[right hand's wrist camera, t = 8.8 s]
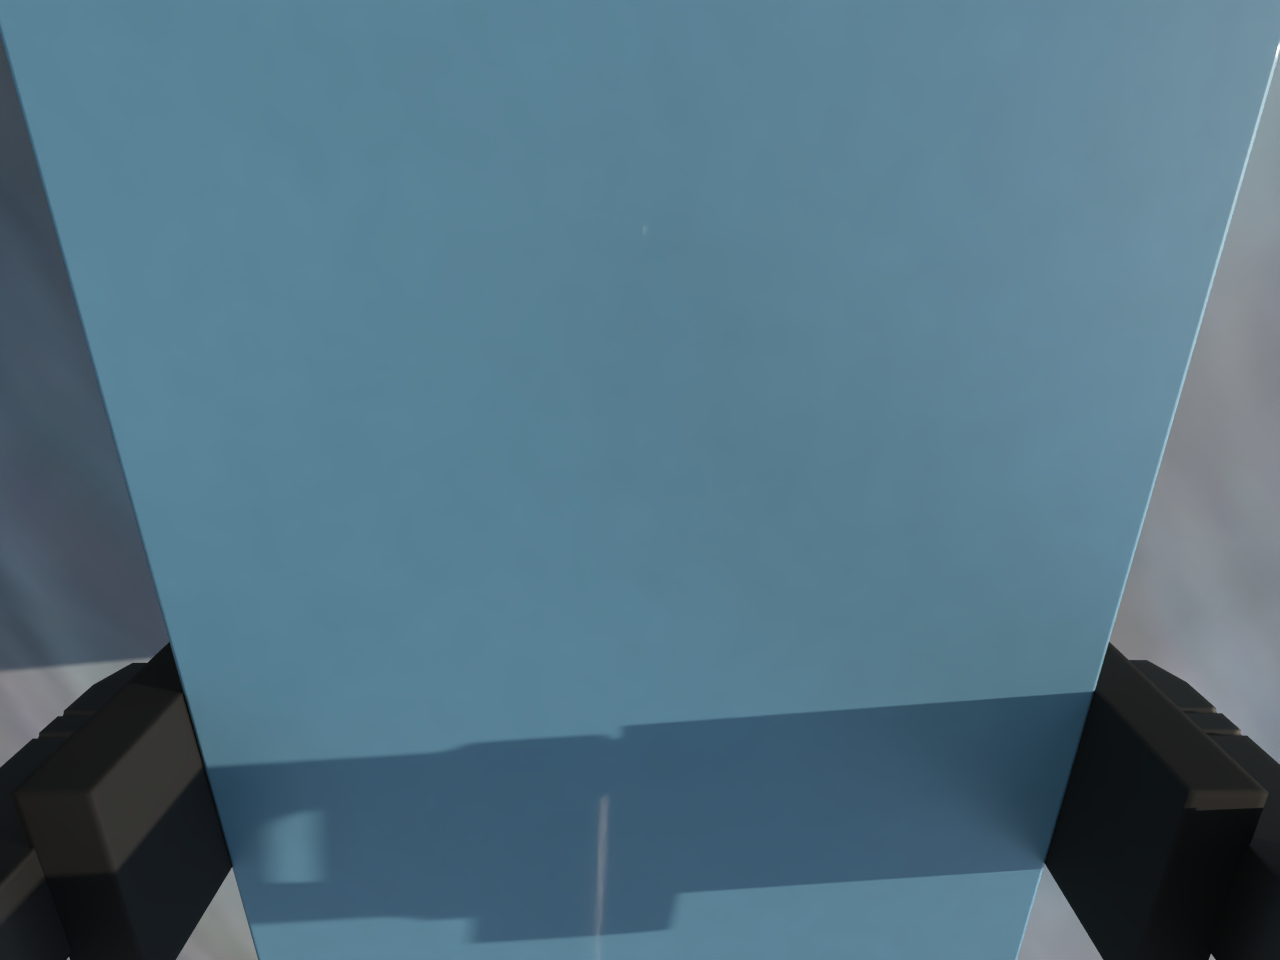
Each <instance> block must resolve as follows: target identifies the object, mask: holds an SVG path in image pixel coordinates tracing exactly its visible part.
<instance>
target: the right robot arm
mask: <svg viewBox="0 0 1280 960" xmlns="http://www.w3.org/2000/svg"><path fill="white" fill-rule="evenodd" d="M1240 731H1241V730H1240V729H1239V728H1238V727H1237V726H1235V725H1234V724H1233V723H1232V722H1231V721H1230V720H1229V719H1228V718H1226V717H1225V716H1224V715H1223V714H1222V713H1216V708H1215V707H1214V706H1213V705H1212V704H1211V703H1209V702H1208V701H1207V700H1206V699H1205V698H1204V697H1203V696H1202V695H1200V694H1199V693H1198V692H1197V691H1196V690H1195V689H1194V688H1192V687H1191V686H1190V685H1189V684H1188V683H1187V682H1185V681H1183V680H1182V679H1180V678H1178V677H1176V676H1174V675H1173V674H1171V673H1169V672H1167V671H1165V670H1164V669H1162V668H1160V667H1158V666H1156V665H1155V664H1153V663H1151V662H1149V661H1147V660H1128V659H1127V658H1126V657H1125V656H1124V655H1123V654H1122V653H1120V652H1119V651H1118V650H1117V649H1116V648H1115V647H1114V646H1113V645H1112V644H1111V643H1110V642H1109V643H1108V647H1107V650H1106V653H1105V657H1104V660H1103V664H1102V667H1101V671H1100V674H1099V678H1098V681H1097V685H1096V688H1095V690H1094V694H1093V697H1092V701H1091V704H1090V708H1089V711H1088V715H1087V718H1086V722H1085V725H1084V729H1083V732H1082V736H1081V739H1080V743H1079V746H1078V750H1077V753H1076V757H1075V760H1074V764H1073V767H1072V771H1071V774H1070V778H1069V781H1068V785H1067V788H1066V792H1065V795H1064V799H1063V802H1062V805H1061V809H1060V812H1059V816H1058V819H1057V823H1056V826H1055V830H1054V833H1053V837H1052V840H1051V843H1050V847H1049V850H1048V854H1047V857H1046V861H1045V864H1046V866H1047V868H1048V869H1049V871H1050V873H1051V874H1052V876H1053V878H1054V879H1055V881H1056V883H1057V884H1058V886H1059V887H1060V889H1061V891H1062V892H1063V894H1064V896H1065V897H1066V899H1067V901H1068V902H1069V904H1070V906H1071V907H1072V909H1073V910H1074V912H1075V914H1076V915H1077V917H1078V919H1079V920H1080V922H1081V924H1082V925H1083V927H1084V929H1085V930H1086V932H1087V933H1088V935H1089V937H1090V938H1091V940H1092V942H1093V943H1094V945H1095V947H1096V948H1097V950H1098V952H1099V953H1100V955H1101V956H1102V958H1103V960H1209V957H1210V954H1212V955H1213V957H1214V958H1215V959H1216V960H1280V765H1279V764H1278V763H1277V762H1276V761H1275V760H1274V759H1273V758H1272V757H1270V756H1269V755H1268V754H1267V753H1266V752H1265V751H1264V750H1263V749H1261V748H1260V747H1259V746H1258V745H1257V744H1256V743H1255V742H1253V741H1252V740H1251V739H1250V738H1249V737H1248V736H1242V735H1241V733H1240ZM231 868H232V864H231V860H230V856H229V853H228V849H227V846H226V842H225V838H224V835H223V831H222V828H221V824H220V821H219V817H218V813H217V810H216V806H215V803H214V799H213V795H212V792H211V788H210V785H209V781H208V777H207V774H206V770H205V767H204V763H203V760H202V756H201V752H200V749H199V745H198V742H197V738H196V734H195V731H194V727H193V724H192V720H191V717H190V713H189V709H188V706H187V702H186V699H185V695H184V691H183V688H182V684H181V681H180V677H179V673H178V670H177V666H176V663H175V659H174V656H173V652H172V648H171V645H170V642H169V643H168V644H167V645H166V646H165V647H164V648H163V649H162V650H161V651H160V652H158V653H157V654H156V655H155V656H154V657H153V658H152V659H151V660H150V661H149V662H148V663H132V664H130V665H128V666H126V667H124V668H123V669H121V670H119V671H117V672H115V673H114V674H112V675H110V676H108V677H107V678H105V679H103V680H101V681H99V682H98V683H96V684H94V685H93V686H91V687H90V688H89V689H88V690H87V691H86V692H85V693H84V694H82V695H81V696H80V697H79V698H78V699H77V700H76V701H75V702H73V703H72V704H71V705H70V706H69V707H68V708H67V709H66V710H64V714H63V716H58V717H57V718H55V719H54V720H53V721H52V722H51V723H50V724H49V725H48V726H46V727H45V728H44V729H43V730H42V731H41V732H40V733H39V738H38V739H32V740H31V741H30V742H29V743H27V744H26V745H25V746H24V747H23V748H22V749H21V750H20V751H18V752H17V753H16V754H15V755H14V756H13V757H12V758H11V759H9V760H8V761H7V762H6V763H5V764H4V765H3V766H2V767H0V960H67V958H68V957H70V960H176V958H177V957H178V955H179V953H180V952H181V950H182V948H183V947H184V945H185V943H186V942H187V940H188V939H189V937H190V935H191V934H192V932H193V930H194V929H195V927H196V925H197V924H198V922H199V920H200V919H201V917H202V916H203V914H204V912H205V911H206V909H207V907H208V906H209V904H210V902H211V901H212V899H213V897H214V896H215V894H216V893H217V891H218V889H219V888H220V886H221V884H222V883H223V881H224V879H225V878H226V876H227V874H228V873H229V871H230V870H231Z"/></svg>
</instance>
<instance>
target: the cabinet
mask: <svg viewBox="0 0 1280 960" xmlns="http://www.w3.org/2000/svg"><path fill="white" fill-rule="evenodd" d="M0 35H1V39H2V42H3V46H4V49H5V53H6V57H7V60H8V64H9V67H10V71H11V75H12V78H13V82H14V85H15V89H16V93H17V96H18V100H19V103H20V107H21V110H22V114H23V118H24V121H25V125H26V128H27V132H28V136H29V139H30V143H31V146H32V150H33V153H34V157H35V161H36V164H37V168H38V171H39V175H40V179H41V182H42V186H43V189H44V193H45V197H46V200H47V204H48V207H49V211H50V214H51V218H52V222H53V225H54V229H55V232H56V236H57V240H58V243H59V247H60V250H61V254H62V257H63V261H64V265H65V268H66V272H67V275H68V279H69V283H70V286H71V290H72V293H73V297H74V301H75V304H76V308H77V311H78V315H79V318H80V322H81V326H82V329H83V333H84V336H85V340H86V344H87V347H88V351H89V354H90V358H91V361H92V365H93V369H94V372H95V376H96V379H97V383H98V387H99V390H100V394H101V397H102V401H103V405H104V408H105V412H106V415H107V419H108V422H109V426H110V430H111V433H112V437H113V440H114V444H115V448H116V451H117V455H118V458H119V462H120V465H121V469H122V473H123V476H124V480H125V483H126V487H127V491H128V494H129V498H130V501H131V505H132V509H133V512H134V516H135V519H136V523H137V526H138V530H139V534H140V537H141V541H142V544H143V548H144V552H145V555H146V559H147V562H148V566H149V569H150V573H151V577H152V580H153V584H154V587H155V591H156V595H157V598H158V602H159V605H160V609H161V613H162V616H163V620H164V623H165V627H166V630H167V634H168V638H169V641H170V645H171V648H172V652H173V656H174V659H175V663H176V666H177V670H178V673H179V677H180V681H181V684H182V688H183V691H184V695H185V699H186V702H187V706H188V709H189V713H190V717H191V720H192V724H193V727H194V731H195V734H196V738H197V742H198V745H199V749H200V752H201V756H202V760H203V763H204V767H205V770H206V774H207V777H208V781H209V785H210V788H211V792H212V795H213V799H214V803H215V806H216V810H217V813H218V817H219V821H220V824H221V828H222V831H223V835H224V838H225V842H226V846H227V849H228V853H229V856H230V860H231V864H232V867H233V871H234V874H235V878H236V881H237V885H238V889H239V892H240V896H241V899H242V903H243V907H244V910H245V914H246V917H247V921H248V925H249V928H250V932H251V935H252V939H253V942H254V946H255V950H256V953H257V957H258V960H1017V957H1018V954H1019V951H1020V947H1021V944H1022V940H1023V937H1024V933H1025V930H1026V926H1027V923H1028V919H1029V916H1030V913H1031V909H1032V906H1033V902H1034V899H1035V895H1036V892H1037V888H1038V885H1039V881H1040V878H1041V875H1042V871H1043V868H1044V864H1045V861H1046V857H1047V854H1048V850H1049V847H1050V843H1051V840H1052V837H1053V833H1054V830H1055V826H1056V823H1057V819H1058V816H1059V812H1060V809H1061V805H1062V802H1063V799H1064V795H1065V792H1066V788H1067V785H1068V781H1069V778H1070V774H1071V771H1072V767H1073V764H1074V760H1075V757H1076V753H1077V750H1078V746H1079V743H1080V739H1081V736H1082V732H1083V729H1084V725H1085V722H1086V718H1087V715H1088V711H1089V708H1090V704H1091V701H1092V697H1093V694H1094V690H1095V688H1096V685H1097V681H1098V678H1099V674H1100V671H1101V667H1102V664H1103V660H1104V657H1105V653H1106V650H1107V647H1108V643H1109V640H1110V636H1111V633H1112V629H1113V626H1114V622H1115V619H1116V615H1117V612H1118V609H1119V605H1120V602H1121V598H1122V595H1123V591H1124V588H1125V584H1126V581H1127V577H1128V574H1129V571H1130V567H1131V564H1132V560H1133V557H1134V553H1135V550H1136V546H1137V543H1138V539H1139V536H1140V533H1141V529H1142V526H1143V522H1144V519H1145V515H1146V512H1147V508H1148V505H1149V501H1150V498H1151V495H1152V491H1153V488H1154V484H1155V481H1156V477H1157V474H1158V470H1159V467H1160V463H1161V460H1162V457H1163V453H1164V450H1165V446H1166V443H1167V439H1168V436H1169V432H1170V429H1171V425H1172V422H1173V419H1174V415H1175V412H1176V408H1177V405H1178V401H1179V398H1180V394H1181V391H1182V387H1183V384H1184V381H1185V377H1186V374H1187V370H1188V367H1189V363H1190V360H1191V356H1192V353H1193V349H1194V346H1195V343H1196V339H1197V336H1198V332H1199V329H1200V325H1201V322H1202V318H1203V315H1204V311H1205V308H1206V305H1207V301H1208V298H1209V294H1210V291H1211V287H1212V284H1213V280H1214V277H1215V273H1216V270H1217V267H1218V263H1219V260H1220V256H1221V253H1222V249H1223V246H1224V242H1225V239H1226V235H1227V232H1228V229H1229V225H1230V222H1231V218H1232V215H1233V211H1234V208H1235V204H1236V201H1237V197H1238V194H1239V191H1240V187H1241V184H1242V180H1243V177H1244V173H1245V170H1246V166H1247V163H1248V159H1249V156H1250V153H1251V149H1252V146H1253V142H1254V139H1255V135H1256V132H1257V128H1258V125H1259V121H1260V118H1261V115H1262V111H1263V108H1264V104H1265V101H1266V97H1267V94H1268V90H1269V87H1270V83H1271V80H1272V77H1273V73H1274V70H1275V66H1276V63H1277V59H1278V56H1279V52H1280V0H0Z"/></svg>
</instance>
